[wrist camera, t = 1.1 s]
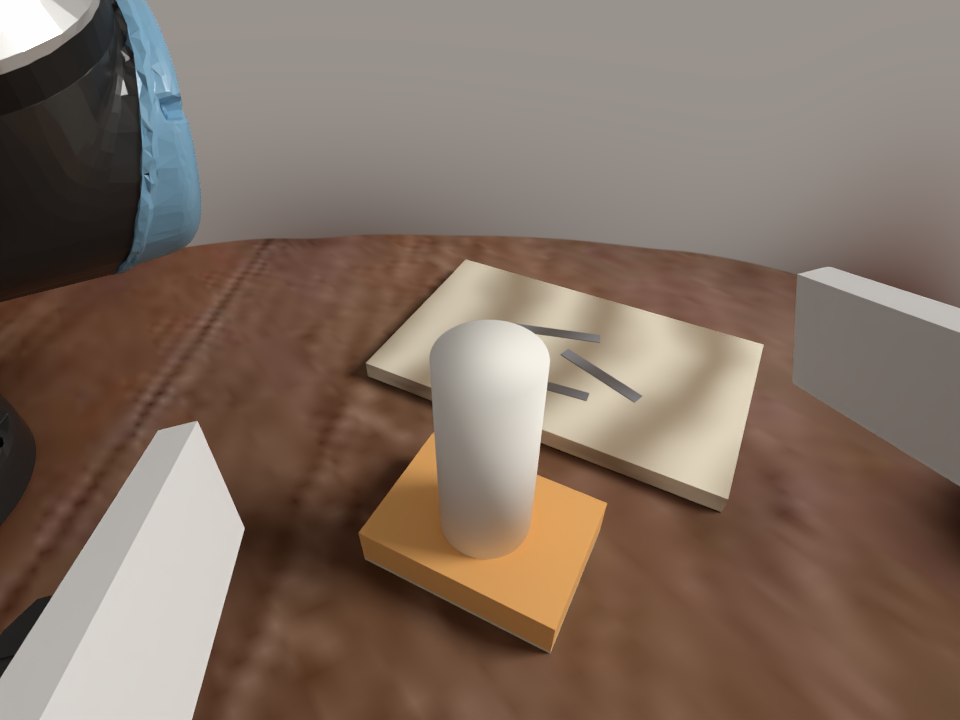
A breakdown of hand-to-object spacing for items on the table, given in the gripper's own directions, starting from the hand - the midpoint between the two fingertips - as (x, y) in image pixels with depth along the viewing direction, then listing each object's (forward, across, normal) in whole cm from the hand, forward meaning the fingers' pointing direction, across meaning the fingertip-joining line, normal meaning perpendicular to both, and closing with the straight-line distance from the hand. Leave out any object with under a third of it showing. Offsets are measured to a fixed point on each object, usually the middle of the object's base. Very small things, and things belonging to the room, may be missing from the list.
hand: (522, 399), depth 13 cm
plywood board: (+24, +8, -12) cm, 28 cm away
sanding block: (+13, -1, -15) cm, 20 cm away
